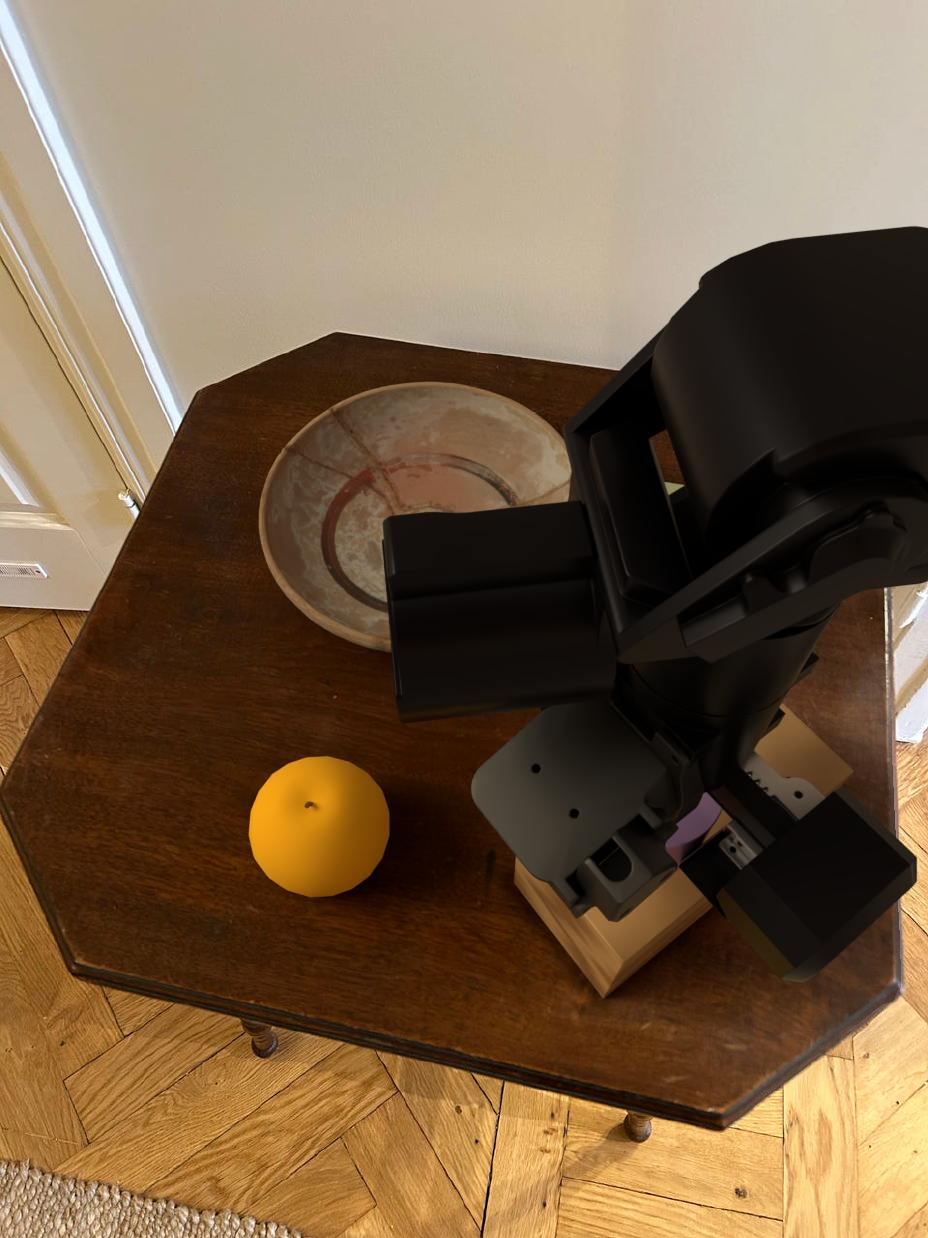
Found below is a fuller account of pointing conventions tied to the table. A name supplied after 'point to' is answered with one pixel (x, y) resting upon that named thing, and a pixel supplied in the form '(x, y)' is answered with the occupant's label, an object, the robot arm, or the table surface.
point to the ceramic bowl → (394, 489)
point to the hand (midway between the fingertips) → (643, 810)
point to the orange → (319, 826)
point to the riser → (677, 902)
